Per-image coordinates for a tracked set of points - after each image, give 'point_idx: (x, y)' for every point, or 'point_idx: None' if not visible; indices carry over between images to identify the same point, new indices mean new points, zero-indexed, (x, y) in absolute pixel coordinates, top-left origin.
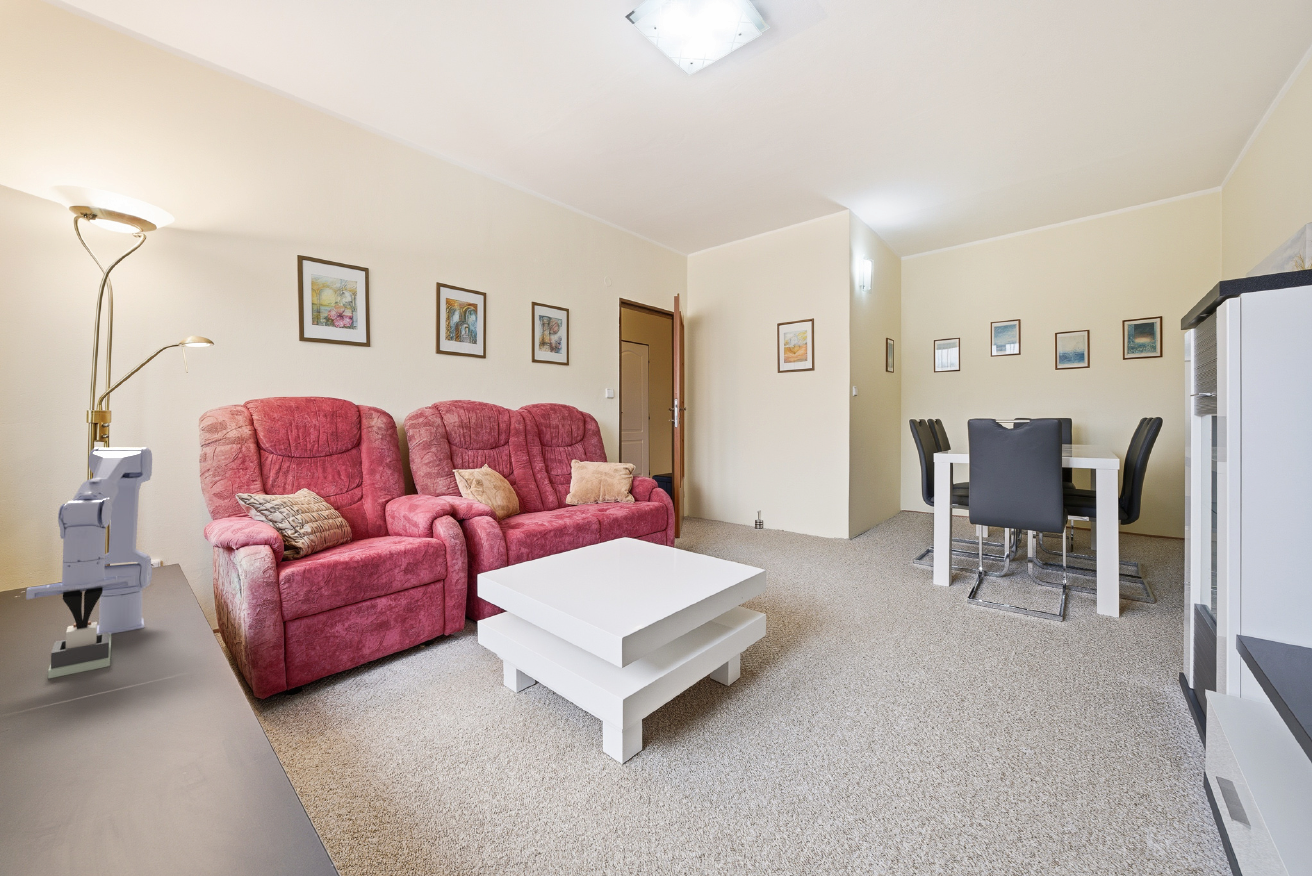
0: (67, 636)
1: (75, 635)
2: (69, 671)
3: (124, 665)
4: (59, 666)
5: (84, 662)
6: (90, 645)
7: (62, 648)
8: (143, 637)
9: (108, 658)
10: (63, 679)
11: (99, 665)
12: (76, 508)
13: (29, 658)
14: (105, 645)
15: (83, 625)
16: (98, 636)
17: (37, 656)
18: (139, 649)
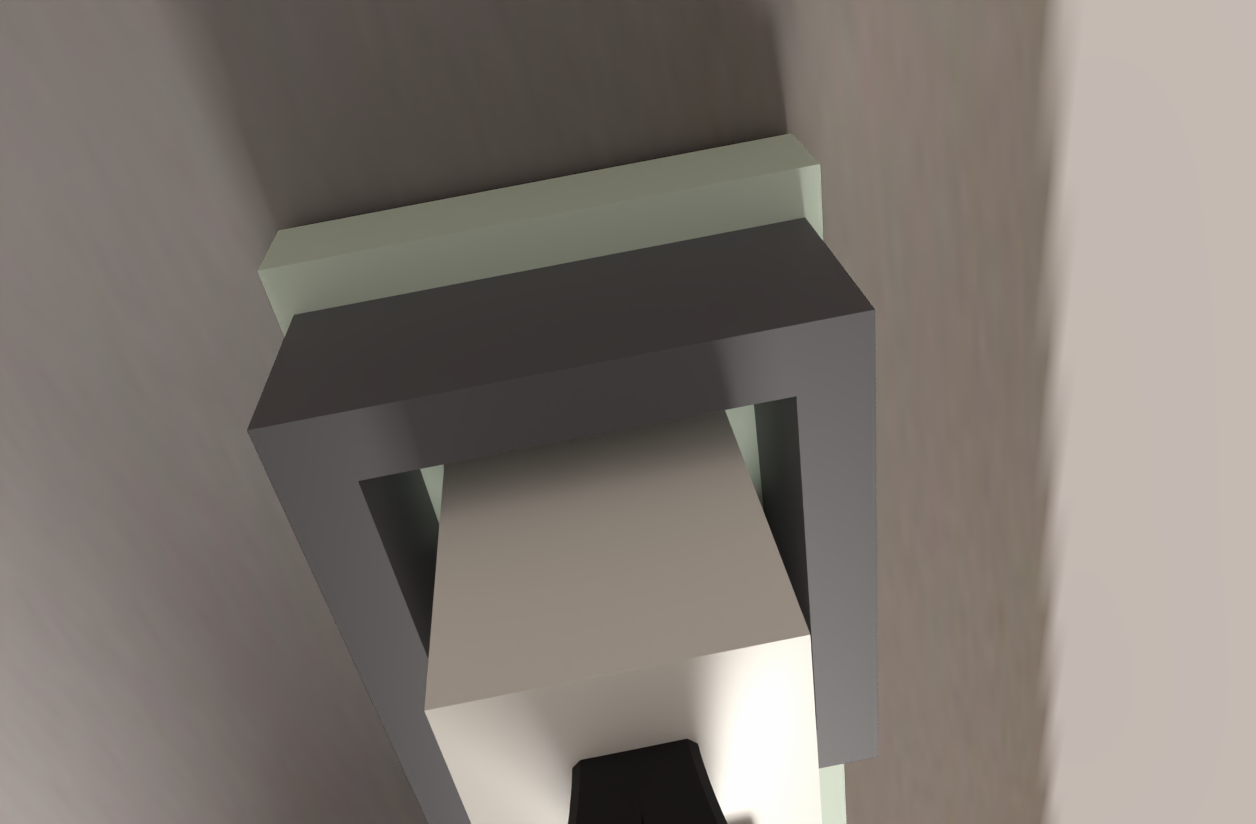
0: (772, 583)
1: (676, 593)
2: (626, 178)
3: (124, 193)
4: (734, 238)
5: (510, 265)
6: (462, 412)
7: None
8: None
9: (276, 277)
10: (646, 35)
11: (365, 225)
12: None
13: (963, 787)
14: (288, 399)
15: (617, 787)
16: None
17: (924, 805)
18: (222, 660)
